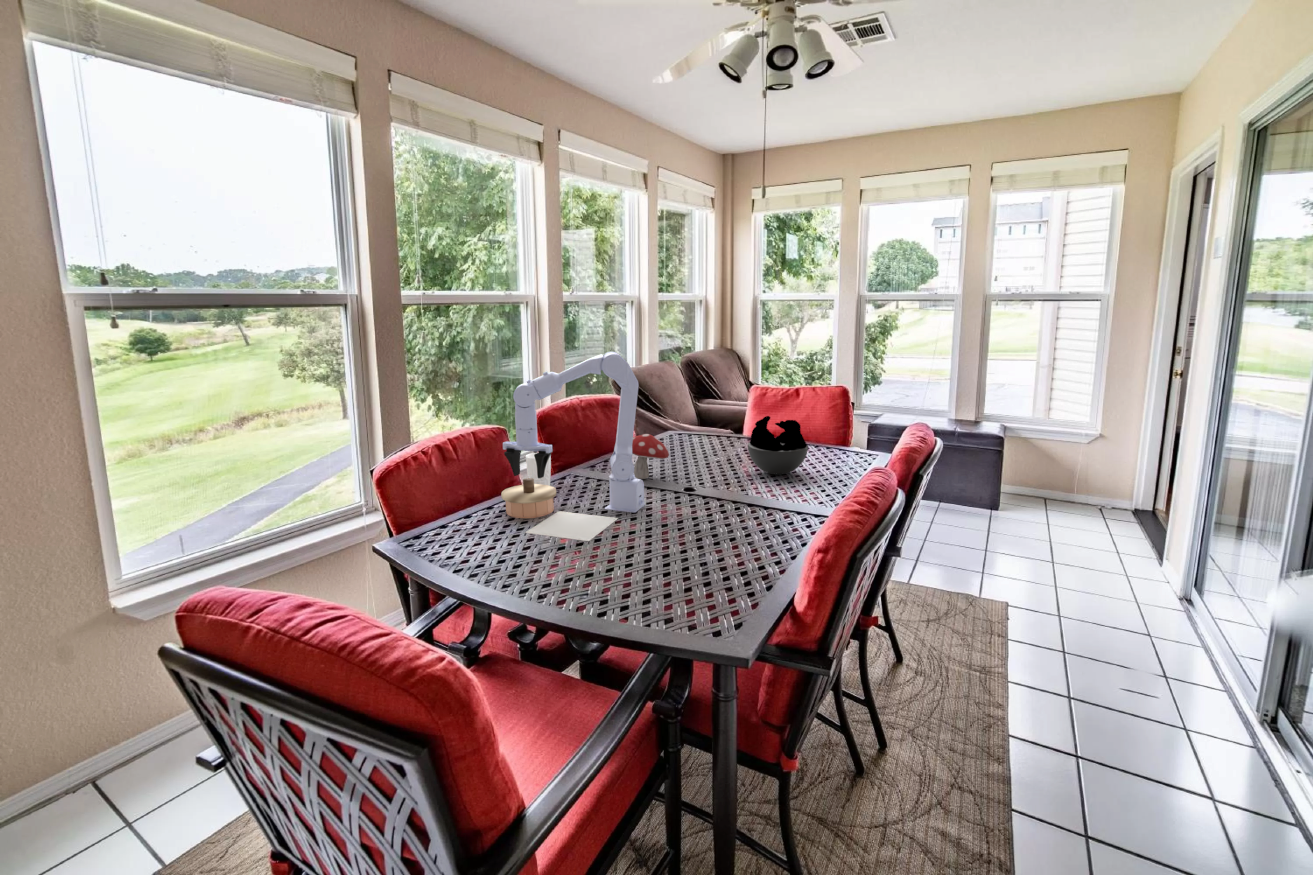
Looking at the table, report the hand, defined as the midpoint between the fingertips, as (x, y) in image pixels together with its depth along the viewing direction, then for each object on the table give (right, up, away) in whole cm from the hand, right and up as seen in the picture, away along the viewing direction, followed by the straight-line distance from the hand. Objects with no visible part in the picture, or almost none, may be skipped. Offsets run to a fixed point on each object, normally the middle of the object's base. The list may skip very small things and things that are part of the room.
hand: (528, 476), depth 181 cm
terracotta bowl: (0, -10, +2) cm, 10 cm away
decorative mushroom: (+32, -3, +36) cm, 48 cm away
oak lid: (0, -5, +1) cm, 5 cm away
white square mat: (+14, -13, -10) cm, 21 cm away
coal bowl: (+76, -2, +40) cm, 86 cm away
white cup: (-2, -5, +28) cm, 28 cm away
